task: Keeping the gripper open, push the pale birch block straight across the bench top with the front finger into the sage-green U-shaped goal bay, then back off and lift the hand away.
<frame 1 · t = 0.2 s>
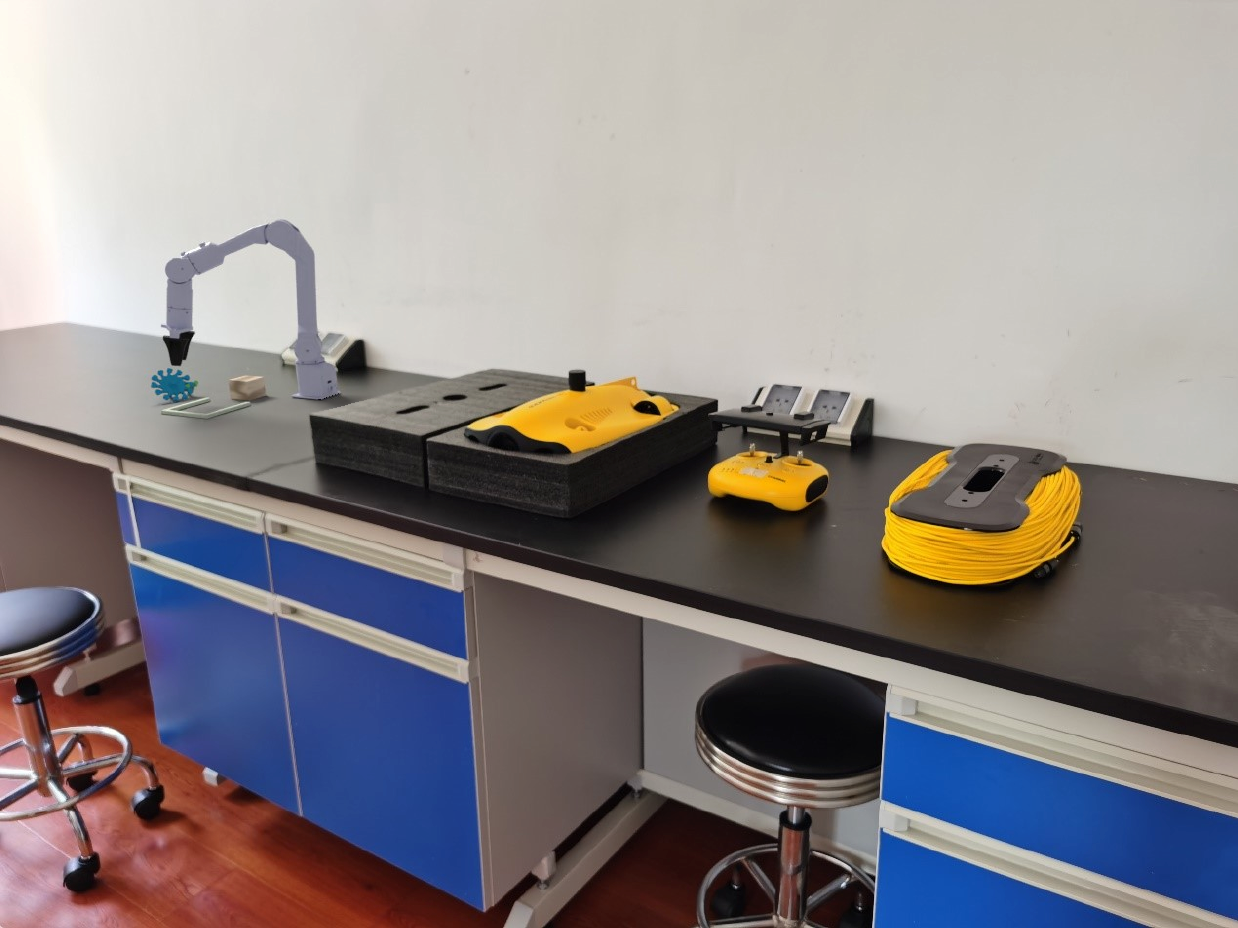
hand: (178, 362, 224), 10 cm above the table, tool pointing down, fingers open, 7 cm apart
goal bay: (210, 408, 222), on the table
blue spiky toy: (177, 399, 233), on the table
block: (248, 397, 234), on the table
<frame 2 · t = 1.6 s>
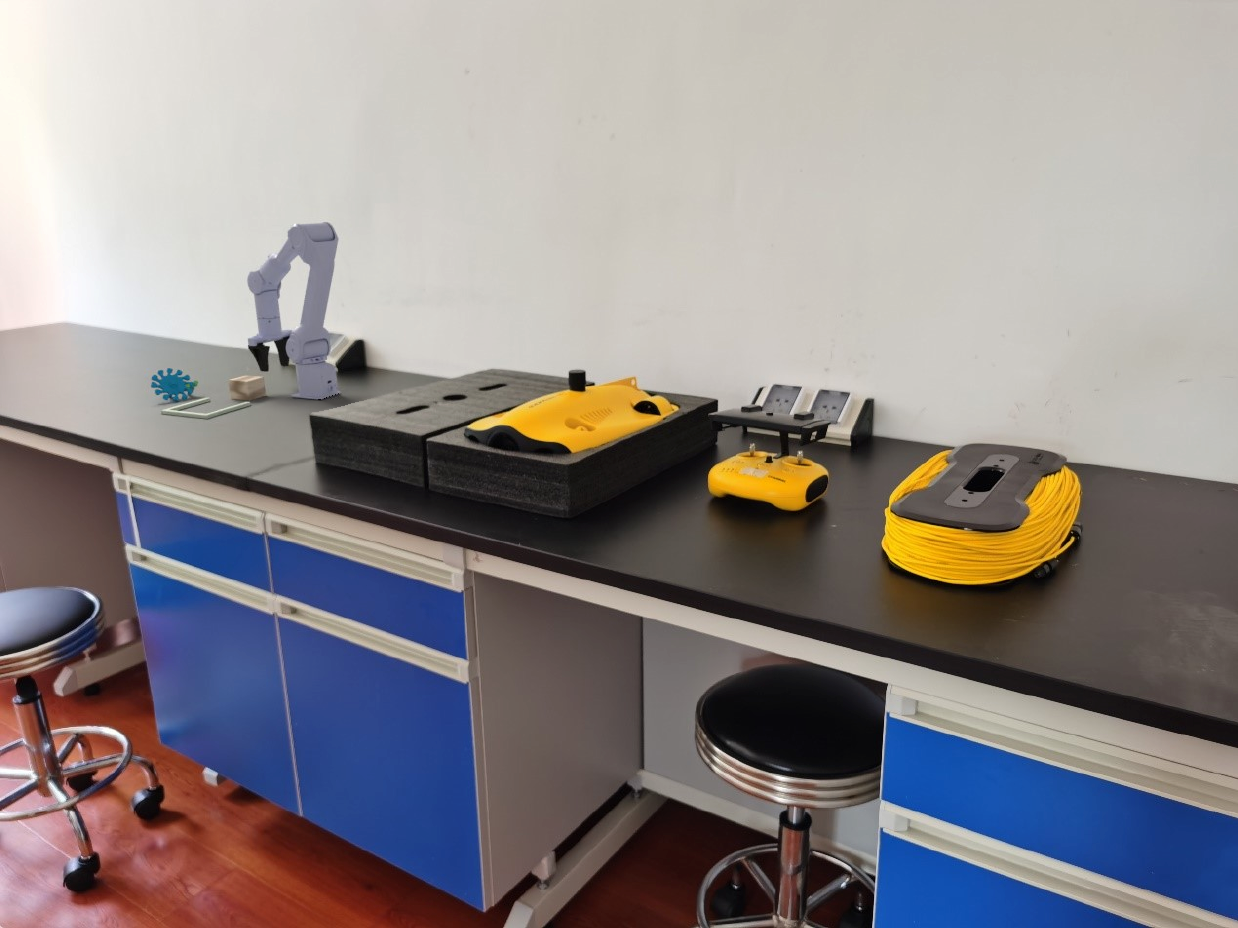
hand: (274, 368, 242), 5 cm above the table, tool pointing down, fingers open, 7 cm apart
nothing on the table moved.
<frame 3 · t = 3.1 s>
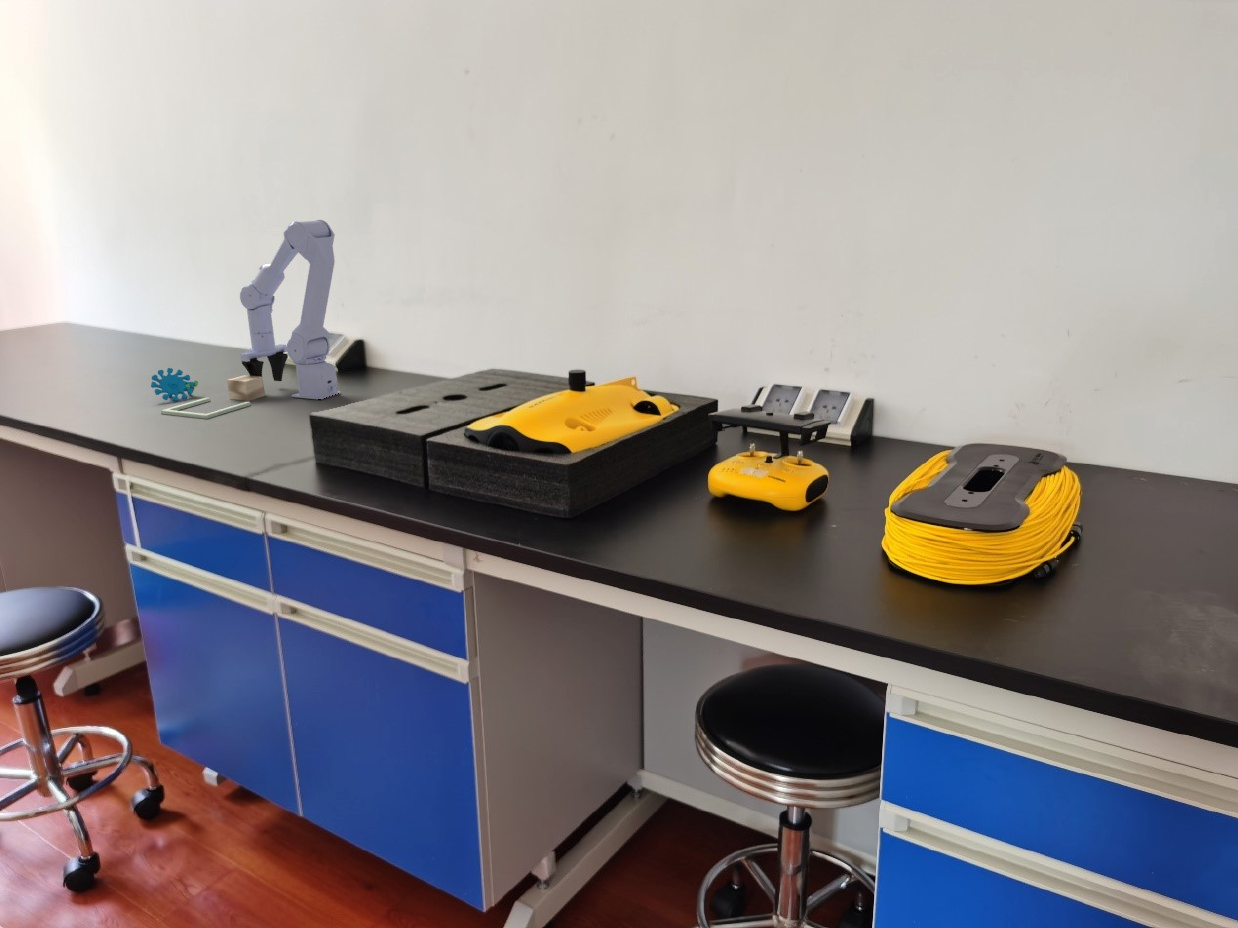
hand: (268, 383, 240), 2 cm above the table, tool pointing down, fingers open, 7 cm apart
block: (247, 397, 233), on the table, touching gripper
everything else where it was.
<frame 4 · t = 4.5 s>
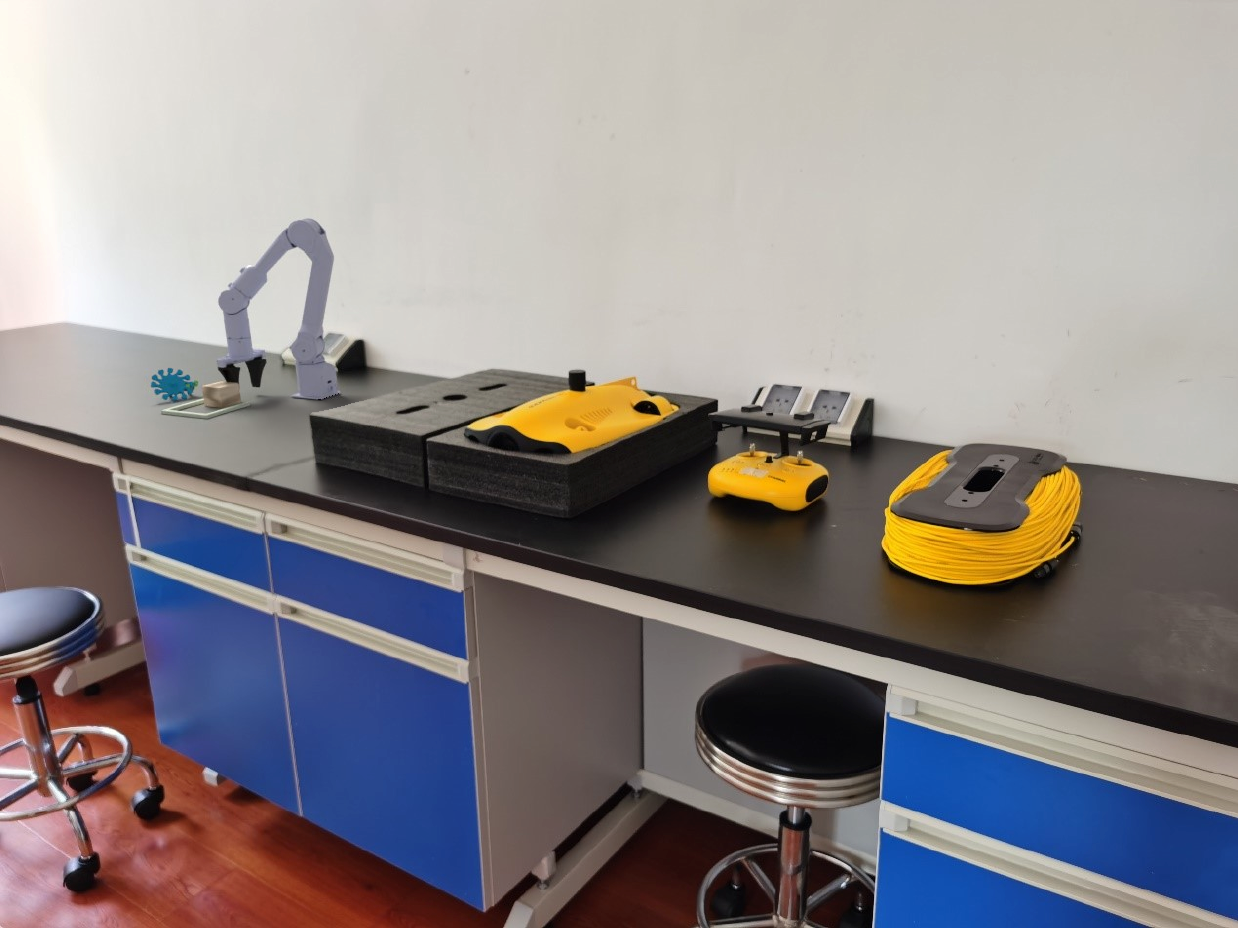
hand: (246, 390, 233), 2 cm above the table, tool pointing down, fingers open, 7 cm apart
block: (223, 404, 226), on the table, touching gripper
everything else where it was.
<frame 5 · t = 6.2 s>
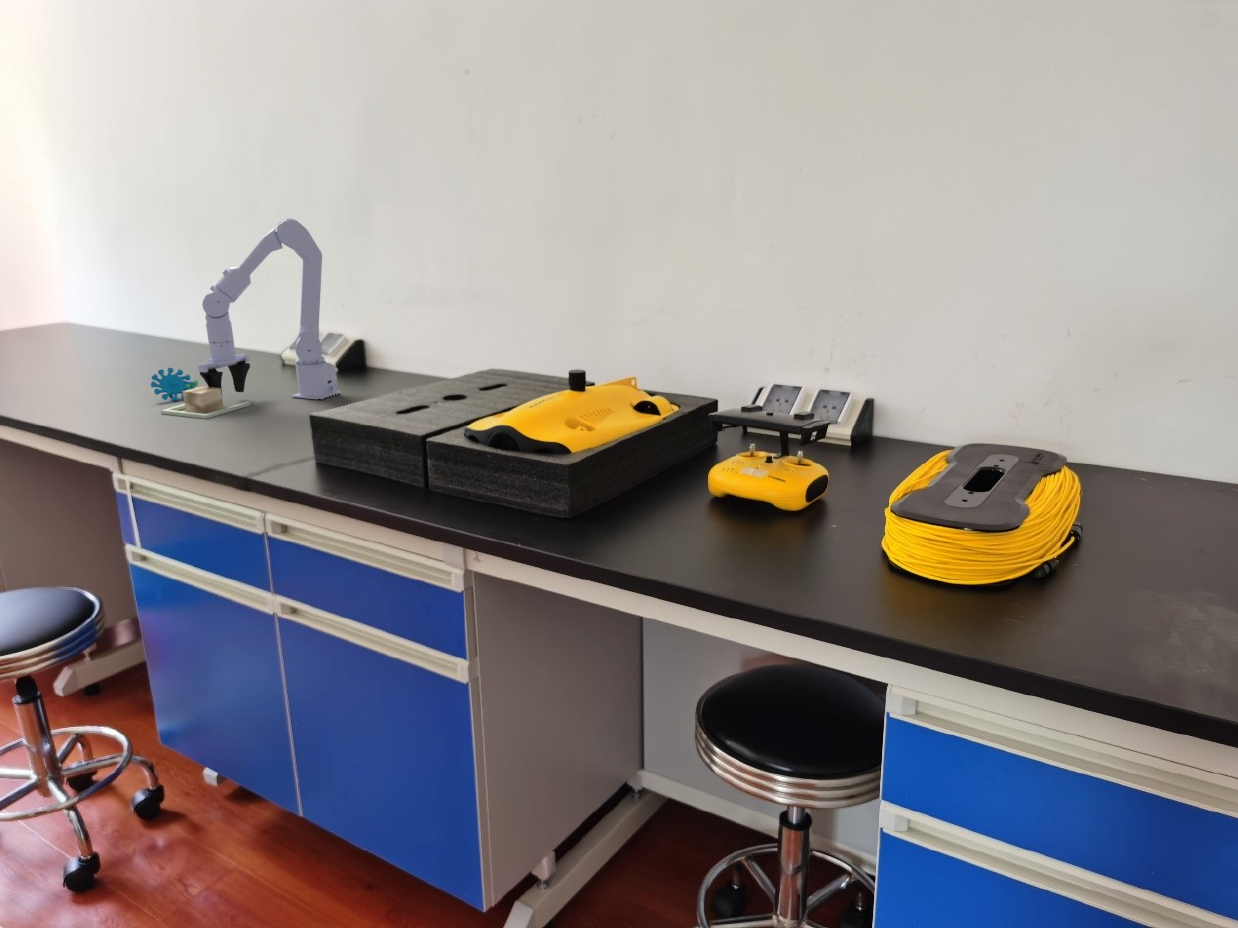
hand: (228, 395, 228), 2 cm above the table, tool pointing down, fingers open, 7 cm apart
block: (204, 409, 221), on the table, touching gripper
everything else where it was.
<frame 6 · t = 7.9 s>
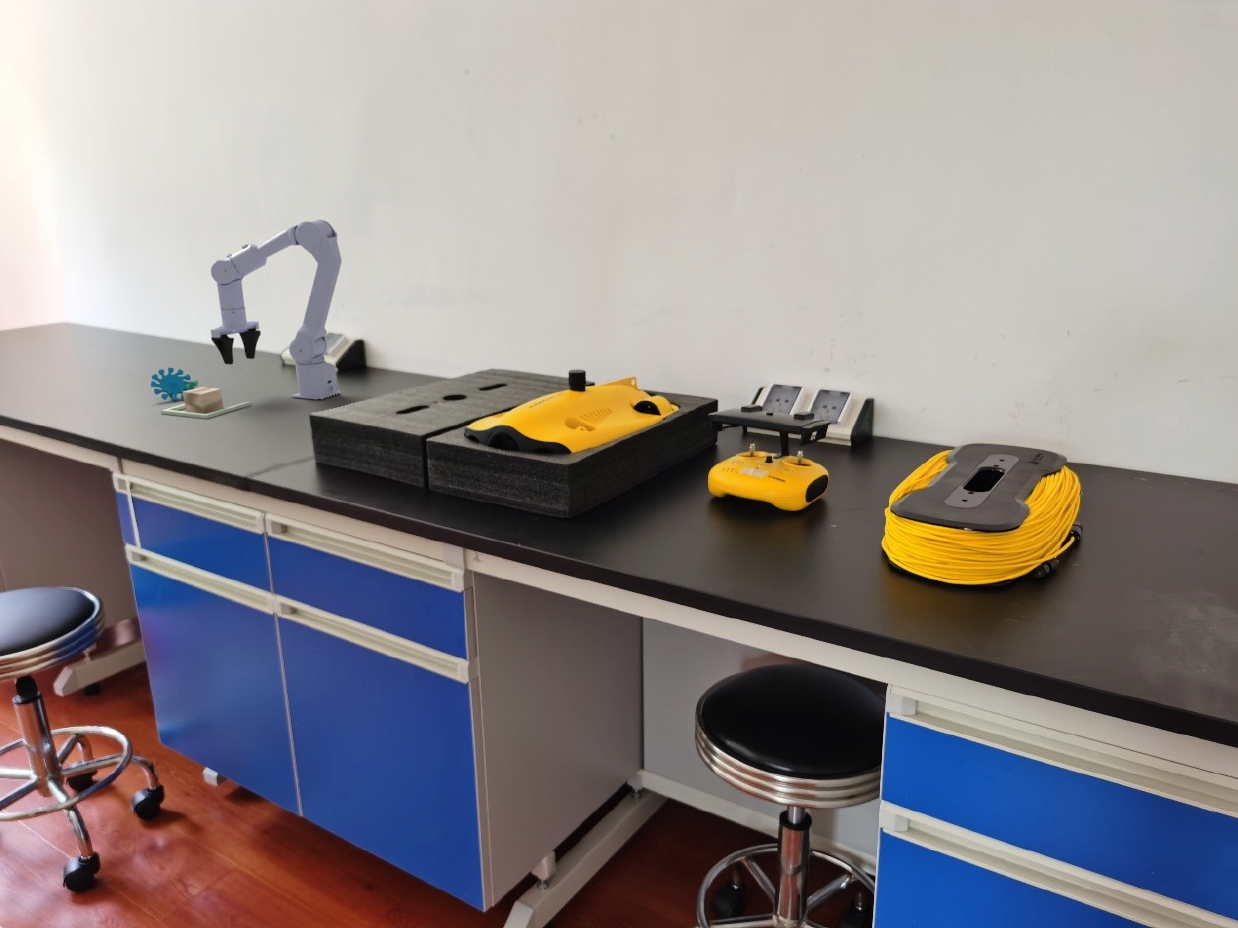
hand: (239, 361, 233), 9 cm above the table, tool pointing down, fingers open, 7 cm apart
block: (204, 410, 221), on the table
everything else where it was.
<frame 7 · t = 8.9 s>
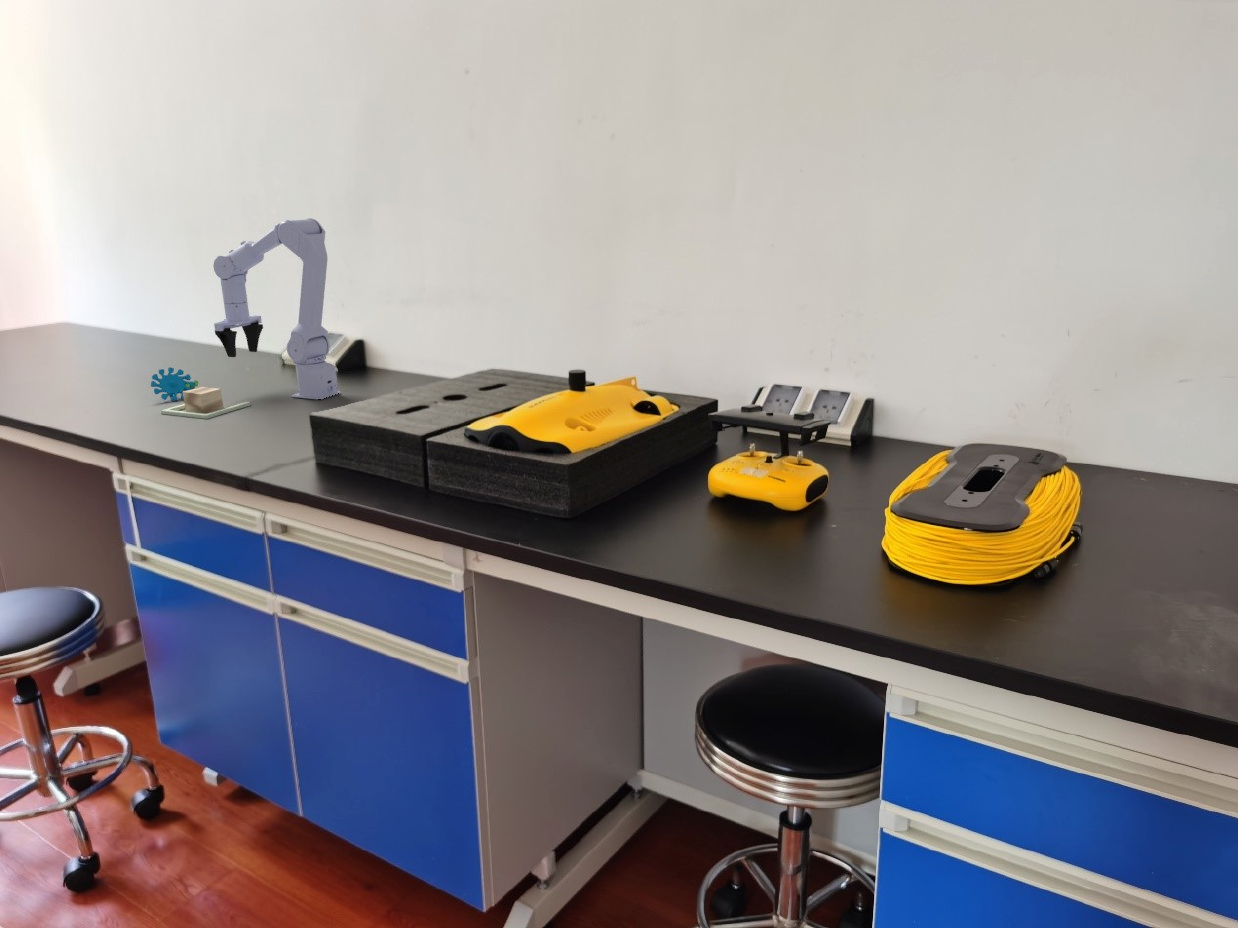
hand: (242, 354, 240), 9 cm above the table, tool pointing down, fingers open, 7 cm apart
nothing on the table moved.
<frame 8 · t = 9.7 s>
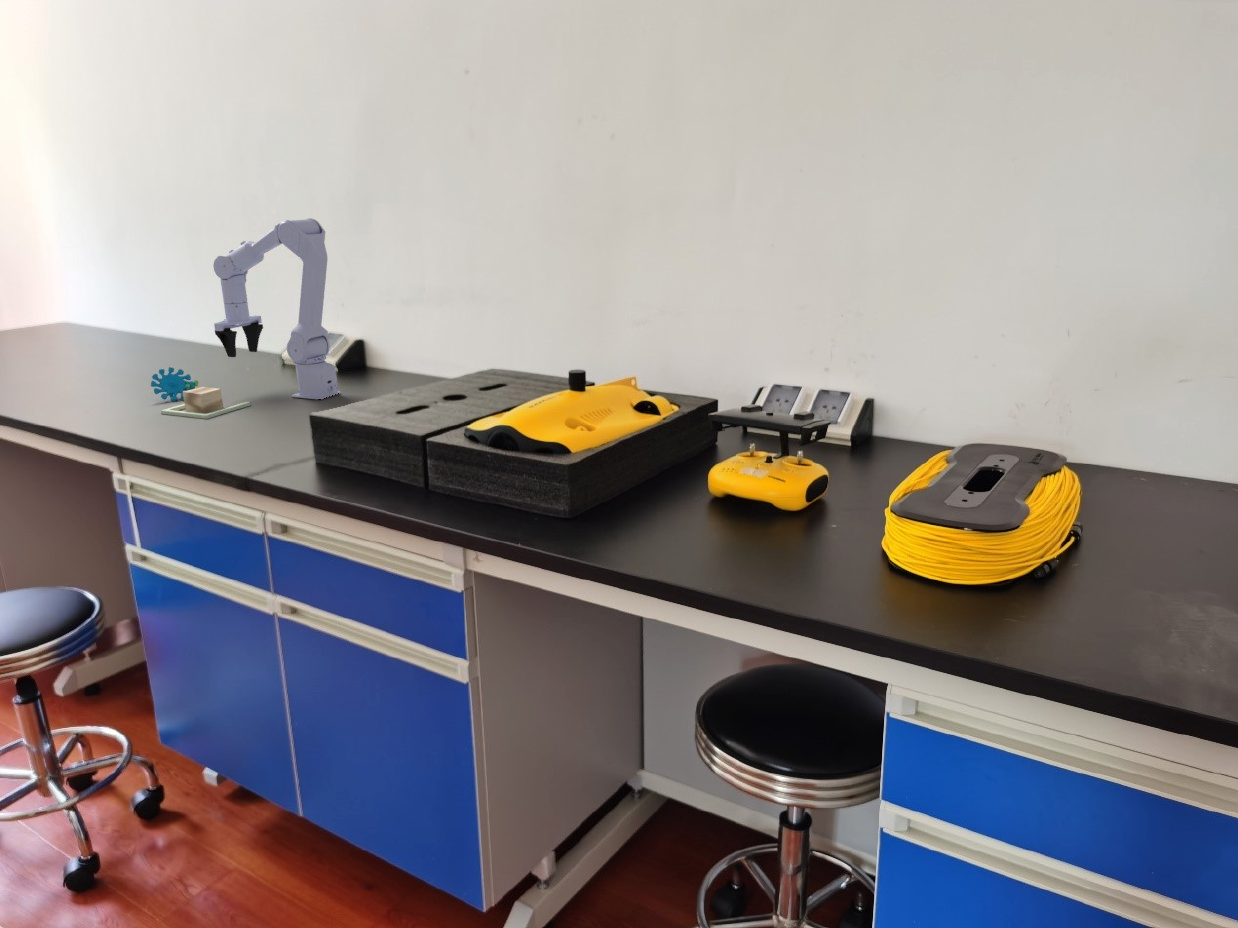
hand: (242, 354, 240), 9 cm above the table, tool pointing down, fingers open, 7 cm apart
at the end: block inside the target area (1.0 cm from its centre), on the table; block tilted 0° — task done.
